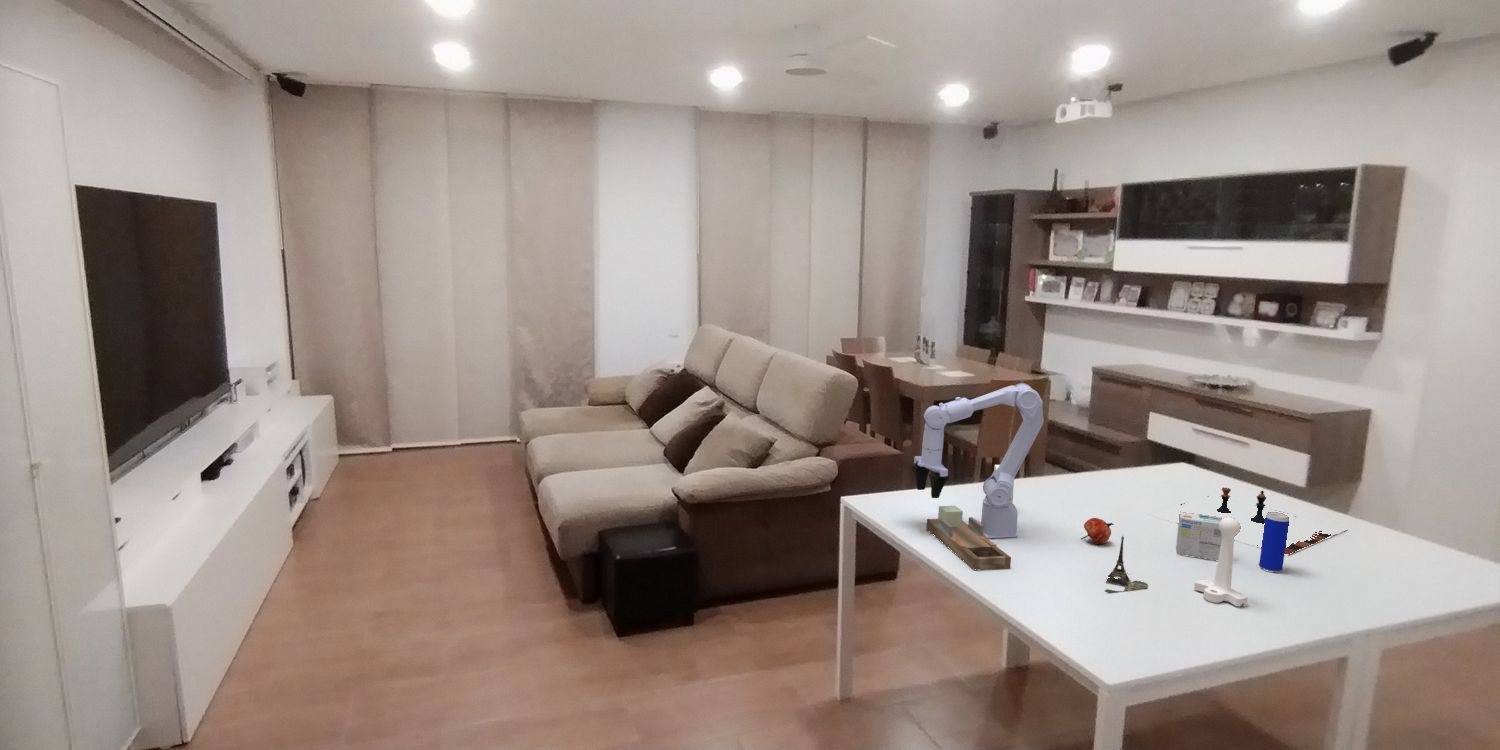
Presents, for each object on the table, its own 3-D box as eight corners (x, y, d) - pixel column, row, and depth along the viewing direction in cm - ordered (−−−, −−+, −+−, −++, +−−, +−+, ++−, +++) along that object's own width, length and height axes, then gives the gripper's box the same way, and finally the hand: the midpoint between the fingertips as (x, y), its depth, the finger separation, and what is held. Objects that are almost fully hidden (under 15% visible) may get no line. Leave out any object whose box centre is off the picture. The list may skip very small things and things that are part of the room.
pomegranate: (1082, 552, 228) (1114, 538, 222) (1069, 528, 230) (1100, 513, 225) (1091, 548, 233) (1123, 534, 228) (1078, 524, 236) (1109, 510, 230)
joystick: (1249, 604, 191) (1260, 523, 188) (1231, 611, 187) (1241, 528, 184) (1203, 587, 201) (1213, 509, 197) (1185, 592, 197) (1194, 513, 194)
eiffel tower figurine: (1107, 596, 195) (1113, 543, 193) (1079, 579, 205) (1084, 528, 203) (1158, 590, 199) (1164, 538, 197) (1128, 573, 209) (1134, 524, 207)
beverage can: (1278, 567, 214) (1286, 512, 212) (1284, 574, 210) (1292, 519, 207) (1256, 564, 216) (1263, 510, 214) (1261, 571, 211) (1269, 516, 209)
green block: (954, 520, 236) (955, 505, 235) (961, 526, 231) (962, 511, 230) (937, 521, 235) (938, 506, 234) (945, 527, 230) (946, 511, 229)
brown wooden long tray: (958, 527, 239) (959, 507, 238) (1010, 568, 209) (1012, 546, 208) (926, 528, 237) (927, 509, 236) (974, 570, 207) (975, 548, 206)
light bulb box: (1218, 554, 223) (1223, 516, 221) (1220, 562, 217) (1225, 523, 215) (1174, 547, 227) (1178, 510, 226) (1175, 555, 221) (1180, 517, 220)
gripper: (907, 442, 238) (902, 486, 240) (934, 455, 224) (929, 502, 227) (927, 441, 240) (923, 485, 242) (956, 454, 227) (951, 500, 229)
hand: (927, 493), depth 235 cm, fingers open, 7 cm apart
